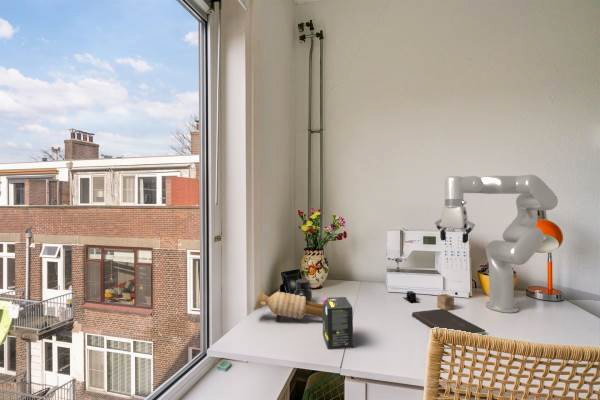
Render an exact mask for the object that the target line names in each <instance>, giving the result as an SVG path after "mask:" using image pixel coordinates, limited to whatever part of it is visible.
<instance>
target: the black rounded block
mask: <svg viewBox="0 0 600 400" xmlns="http://www.w3.org/2000/svg"><path fill="white" fill-rule="evenodd" d="M402 299H404V300H405V301H407V302H408V303H409V304H421V301H419V300H417V293H416V292H415V291H413V290H410V291H409V290H407V291H406V296H404V297H402Z"/></svg>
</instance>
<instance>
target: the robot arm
mask: <svg viewBox="0 0 600 400" xmlns="http://www.w3.org/2000/svg"><path fill="white" fill-rule="evenodd" d="M464 194H486V195H487V194H488V195H492V194H493V195H495V194H496V195H502V194H503V195H505V194H506V195H518V196H517V198H516V199H515V204H516V209H517V213H516V214H517V215H516V216H515V218H514V219H513V220H512V222H511V223H510V224H508V226H507V227H506V228H505V230H503V233H502V239H503V240H499V239H498V240H497V239H495V240H492V241H490V242H488V243H487V245H486V248H485V253H486V257H487V258H486V259H487V261H488V289H489V290H488V292H489V293H488V298H489V301H486V302H485V307H486V308H488V309H490V310H492V311H495V312H500V313H506V314H507V313H508V314H513V313H517V312H519V308H518V306H516V305H517V304H521V303H522V300H521V299H520V298H515V294H514V292H515V290H514V289H515V287H514V286H515V284H514V281H515V280H514V275H515V274H514V270H513V266H512V265H516V266H521V265H524V264H526V263H527V262H529V261H530V259H531V258H532V257H533V256H534V255H535V253H537V251H538V250H539V249H540V248H541V246H542V245H543V243H544V239H545V236H544V232H543V231H542V229H541V228H539V227H537V224H538V217H537V215H536V213H535V211H551V210H554V209H555V208H556V207H557V206H558V203H559V200H558V196H557V195H556V193H555V192H554V191H553V190H552V189H551V188H550V187H549V186H548V185H547V184H546V183H545V181H544V180H542V179H541V178H540V177H539V176H537V175H535V174H524V175H489V176H488V175H487V176H480V177H479V176H476V175H470V176H469V175H468V176H459V175H453V176H446V177H445V179H444V206H443V207H442V212H441V219H438V220H436V221H435V222H434V224H435V226H436V229H438V231H439V232H440V233H439V235H440V236H439V237H440V241H442V242H443V241H446V240H447V234H446V233H447V232H446V230H447V229H451V230H452V229H455V230H460V231H461V232H463V233H462V240H461V242H462V243H463V244H466V243H468V241H469V234H470V233H471V232H472V231H473V229H474V227H475V226H476V224H475V223H474V222H472V221H470V220H469V219H468V214H467V208H466V206H465V205H467V203H468V202H467V201H466V200H464ZM440 223H441V224H440ZM468 226H469V227H468Z"/></svg>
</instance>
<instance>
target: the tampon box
mask: <svg viewBox="0 0 600 400" xmlns="http://www.w3.org/2000/svg"><path fill="white" fill-rule="evenodd" d="M322 304H323V319H322V320H323V322H322V337H323V340H324V342H325V343H324V344H325V346H326V348H327V350H330V349H351V348H352V349H354V327H353V326H354V324H353V323H354V322H353V321H354V316H353V315H354V314H353V313H354V312H353V311H354V310H353V306H352V304H351V302H350V301H349V300H348V298H347V297H346V296H337V297H334V296H333V297H322Z"/></svg>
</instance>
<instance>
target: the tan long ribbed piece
mask: <svg viewBox="0 0 600 400" xmlns="http://www.w3.org/2000/svg"><path fill="white" fill-rule="evenodd" d="M264 306H267V307H268V308H269V310H270V311H271V313H272V314H273V315H276V317H275V322H279V323H280V322H281V320H282V316H283V317H288V318H293V321H295V320H296V319H298V320H302V319H303V318H304V316H305V315H312V316H316V317H320V318H321V320H322V323H323V303H318V302H313V301H312V302H309V301H307V300H306V297H305V296H300V295H295V294H294V293H290V292H283V291H277V292H274V293H273V294H271V295H270V296H268V295H266V294H265V293H264V292H263V291H262V290H260V289H259V290H258V293H257V297H256V302H255V310H257V309H261V308H262V307H264Z"/></svg>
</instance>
